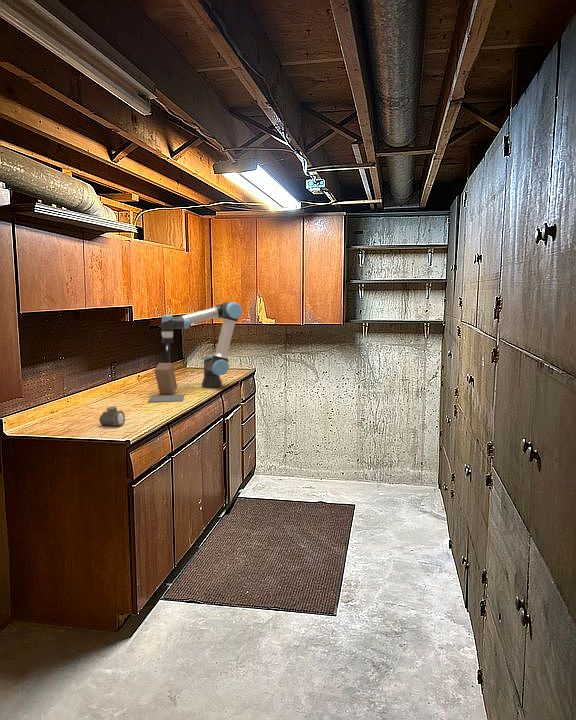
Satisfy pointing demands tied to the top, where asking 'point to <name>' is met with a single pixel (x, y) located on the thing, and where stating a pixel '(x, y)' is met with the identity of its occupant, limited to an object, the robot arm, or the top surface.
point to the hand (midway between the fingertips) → (168, 371)
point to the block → (165, 378)
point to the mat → (166, 398)
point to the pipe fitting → (112, 417)
